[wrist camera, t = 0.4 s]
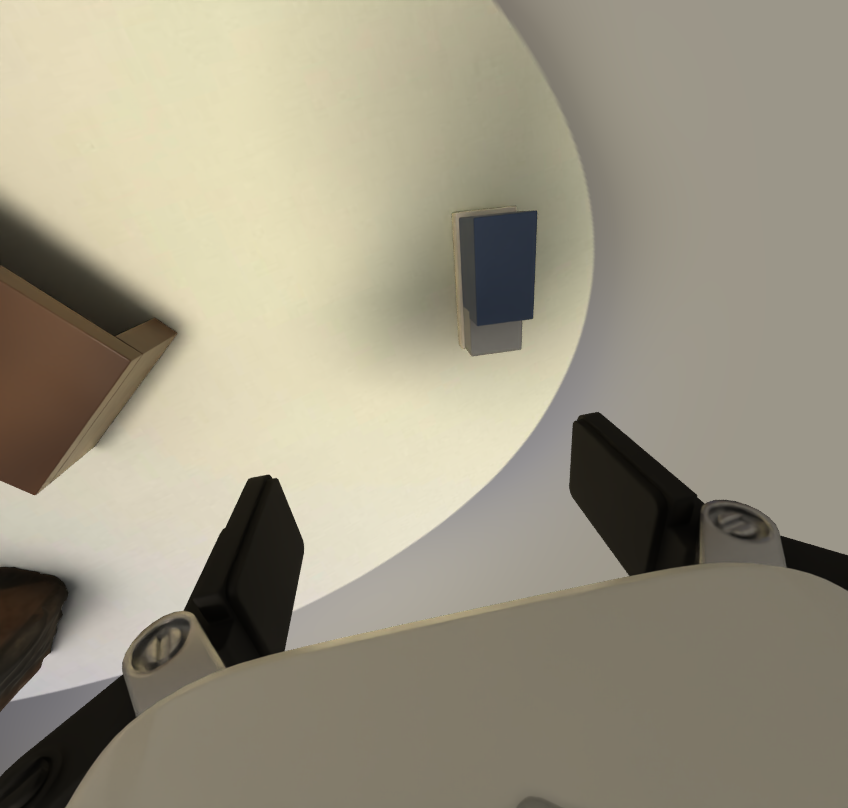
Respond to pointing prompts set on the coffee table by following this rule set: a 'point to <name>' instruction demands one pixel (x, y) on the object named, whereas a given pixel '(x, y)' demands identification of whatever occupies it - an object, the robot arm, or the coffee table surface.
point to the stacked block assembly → (494, 277)
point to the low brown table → (61, 381)
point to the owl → (26, 625)
